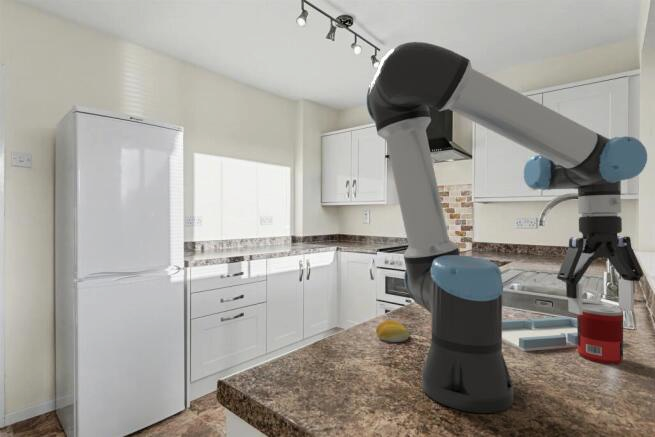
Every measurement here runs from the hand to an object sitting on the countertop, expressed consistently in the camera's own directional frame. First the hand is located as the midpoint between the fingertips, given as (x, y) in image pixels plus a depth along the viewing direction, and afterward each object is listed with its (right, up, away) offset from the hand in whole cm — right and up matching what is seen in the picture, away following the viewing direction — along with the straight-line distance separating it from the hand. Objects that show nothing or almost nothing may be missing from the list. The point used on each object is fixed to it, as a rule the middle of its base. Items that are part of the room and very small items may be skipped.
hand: (601, 311), depth 77 cm
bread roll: (-44, -11, +14) cm, 47 cm away
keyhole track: (-3, -10, +14) cm, 17 cm away
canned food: (0, -11, 0) cm, 11 cm away
